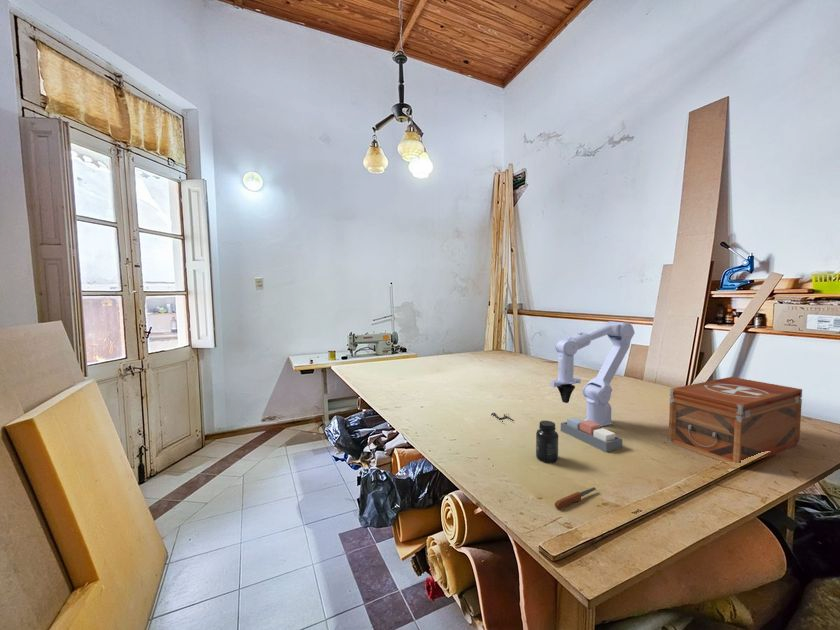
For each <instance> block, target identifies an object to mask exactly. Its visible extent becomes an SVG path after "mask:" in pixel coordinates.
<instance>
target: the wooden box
mask: <svg viewBox="0 0 840 630" xmlns="http://www.w3.org/2000/svg"><path fill="white" fill-rule="evenodd" d="M669 390H670V391H669V397H670V398H669V413H668V414H669V420H668V444H671V445H673V446H676V447H678V448H682V449H684V450H687V451H689V452H693V453H695V454H697V455H701V456H703V457H706V458H708V459H711V458H712V459H711V460H714V459H715V460H714V461H716V460H718V461H717V462H719V461H722V462H735V463H741V460H744V459H746V458H748V457H751V456H754V455H756V454H758V453H761V452H765V451H771V453H770V454H768V456H769V457H771V456H774V455H776V454H779V453H780V452H781V453H782V452H783V451H786V450H788V449H791V448H794V447H796V446H799V445H800V437H801V421H802V419H801V418H802V403H803V389H802V388H797V387H791V386H786V385H780V384H774V383H769V382H768V383H767V382H764V381H757V380H751V379H746V378H740V377H739V378H738V377H734V376H728V377H723V378H719V379H713V380H708V381H703V382H698V383H692V384H687V385H683V386H677V387H673V388H670V389H669ZM722 462H721V463H722Z"/></svg>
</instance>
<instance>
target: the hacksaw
mask: <svg viewBox="0 0 840 630" xmlns="http://www.w3.org/2000/svg"><path fill="white" fill-rule="evenodd" d="M505 414H506V413H503V417H499V416H498V415H497V413H495V412H492V413H491V414H490V416H492V415H493V416H492V417H494V416H495V417H496V418H497V419H496V418H495V417H494V418H495V419H496V420H498V419H499V420H500V419H501V420H502V422H503V420H504V419H503V418H505V419H507V418H508V419H507V420H509V419H510V420H512V421H515V420H514V419H512V418H511V417H510V416H509V415H507V414H506V415H505ZM506 417H507V418H506ZM499 420H498V421H499ZM510 420H509V421H510ZM512 421H511V422H512ZM502 422H501V423H502Z"/></svg>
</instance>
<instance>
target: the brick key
mask: <svg viewBox="0 0 840 630" xmlns="http://www.w3.org/2000/svg"><path fill="white" fill-rule="evenodd" d="M597 429H601V427H600V424H598V423H595V422H593V421H590V420H586V421H581V422H580V430H582V431H584V432H586V433H589V434H593V432H594V430H597Z"/></svg>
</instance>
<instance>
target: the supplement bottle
mask: <svg viewBox="0 0 840 630" xmlns="http://www.w3.org/2000/svg"><path fill="white" fill-rule="evenodd" d="M538 427H539V428H538V430H536V433H535V437H536V438H535V457H536V459H537V460H538V461H539V462H542V463H545V464H555V463H557V462H558V461H559V433H558V432H557V431H556V422H554V421H550V420H541V421H539V425H538Z"/></svg>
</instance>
